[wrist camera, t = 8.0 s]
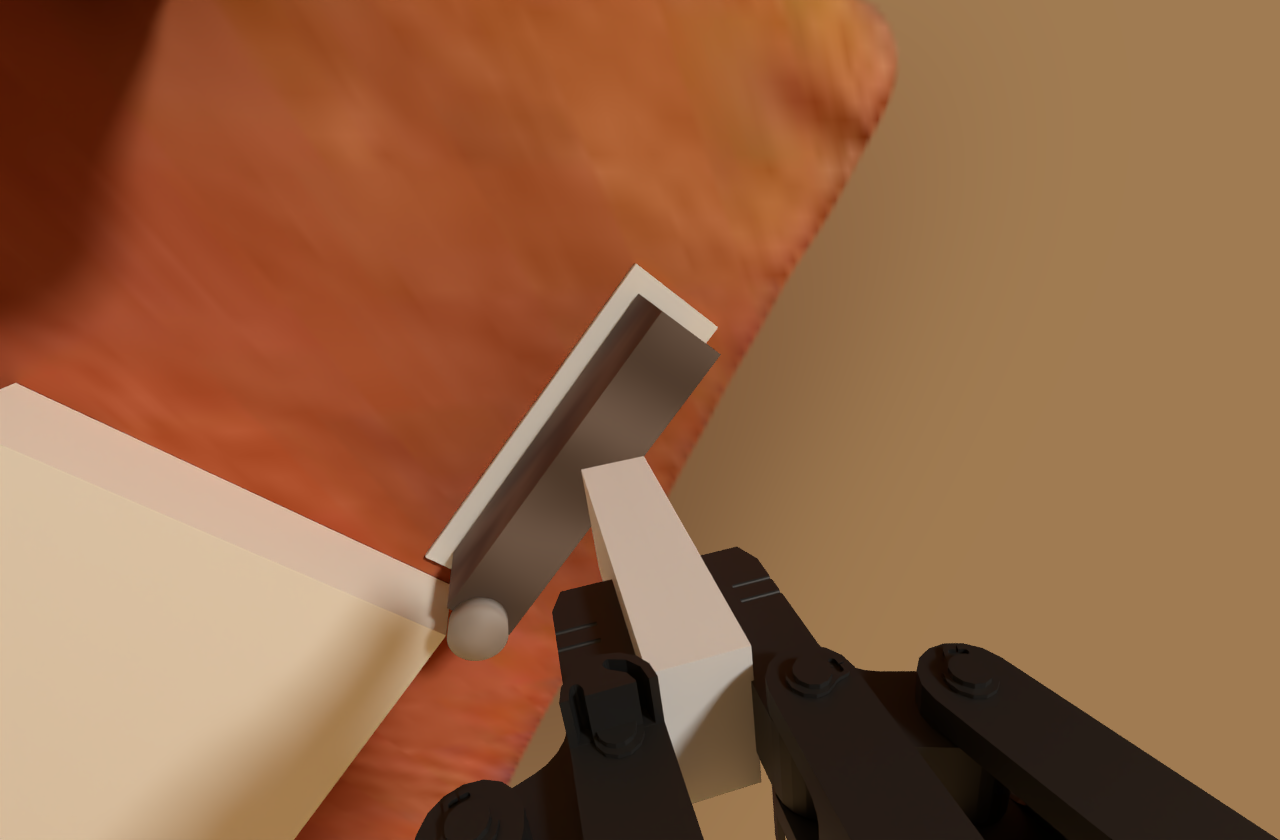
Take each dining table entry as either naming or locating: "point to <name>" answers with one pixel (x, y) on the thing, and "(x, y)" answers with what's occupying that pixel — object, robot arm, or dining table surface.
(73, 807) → the cream flat square box
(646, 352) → the dark grey block
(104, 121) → the dining table surface
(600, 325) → the mat
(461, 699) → the dining table surface
